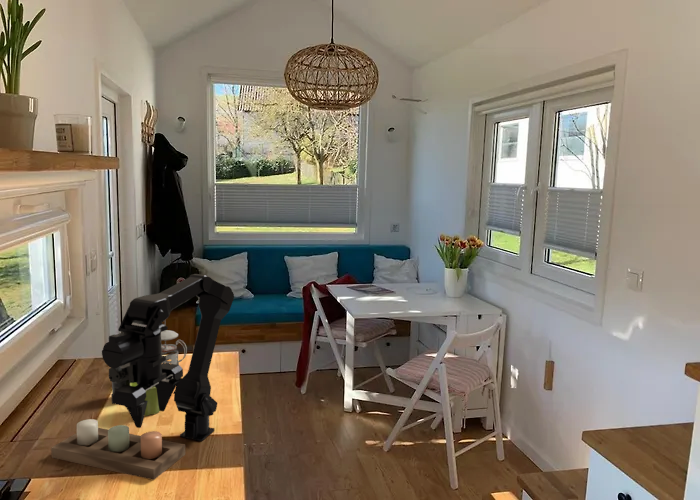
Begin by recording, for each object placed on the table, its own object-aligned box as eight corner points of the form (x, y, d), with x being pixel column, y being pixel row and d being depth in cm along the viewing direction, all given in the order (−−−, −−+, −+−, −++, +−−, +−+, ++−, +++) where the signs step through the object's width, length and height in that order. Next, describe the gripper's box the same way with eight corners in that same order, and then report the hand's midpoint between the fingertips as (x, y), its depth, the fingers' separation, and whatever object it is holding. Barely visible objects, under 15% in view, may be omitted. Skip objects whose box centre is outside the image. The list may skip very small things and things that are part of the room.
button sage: (117, 441, 136) (117, 423, 135) (133, 444, 134) (133, 426, 134) (104, 449, 131) (103, 432, 131) (120, 453, 130) (120, 435, 129)
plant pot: (155, 420, 152) (154, 390, 151) (123, 416, 154) (122, 386, 153) (172, 406, 161) (172, 377, 160) (142, 403, 163) (142, 374, 162)
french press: (157, 370, 189) (155, 297, 186) (191, 371, 189) (190, 298, 186) (145, 380, 180) (143, 304, 176) (181, 382, 179) (180, 305, 176)
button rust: (149, 447, 133) (149, 429, 132) (166, 450, 132) (165, 433, 131) (136, 456, 129) (136, 438, 128) (153, 460, 127) (153, 442, 127)
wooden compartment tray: (89, 435, 143) (89, 425, 143) (185, 454, 135) (185, 444, 134) (51, 457, 132) (51, 447, 131) (153, 480, 123) (153, 469, 123)
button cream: (87, 434, 138) (86, 418, 138) (102, 438, 137) (101, 421, 136) (72, 443, 134) (72, 425, 133) (88, 446, 133) (88, 429, 132)
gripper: (143, 337, 137) (145, 398, 140) (88, 363, 120) (92, 432, 122) (183, 342, 134) (185, 404, 137) (133, 369, 117) (136, 440, 119)
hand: (150, 419), depth 129 cm, fingers open, 8 cm apart
